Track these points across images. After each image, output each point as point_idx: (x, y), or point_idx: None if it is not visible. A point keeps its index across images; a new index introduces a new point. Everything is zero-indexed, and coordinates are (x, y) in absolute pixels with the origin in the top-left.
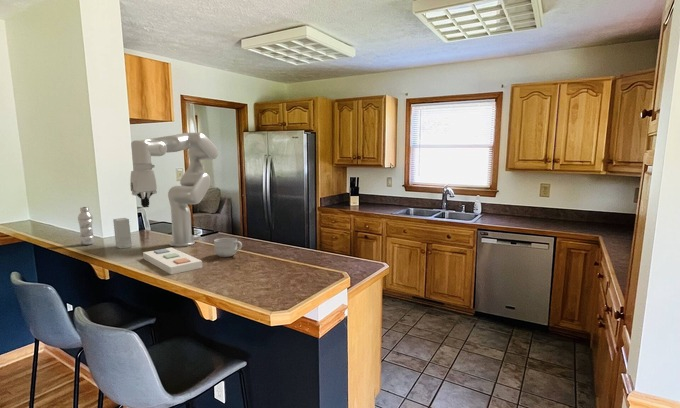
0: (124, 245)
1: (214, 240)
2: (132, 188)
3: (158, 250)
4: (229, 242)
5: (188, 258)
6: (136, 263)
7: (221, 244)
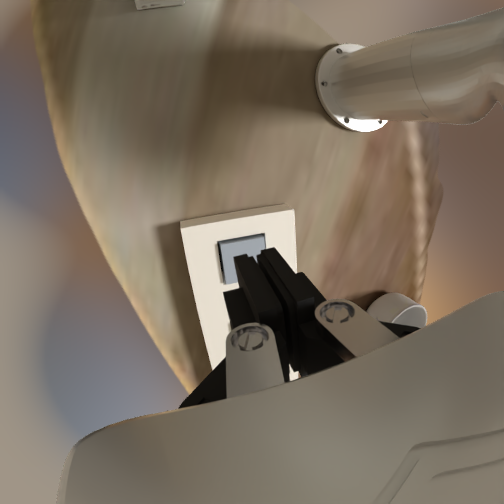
0: (155, 3)
1: None
2: (93, 497)
3: (235, 252)
4: None
5: None
6: (152, 271)
7: None
